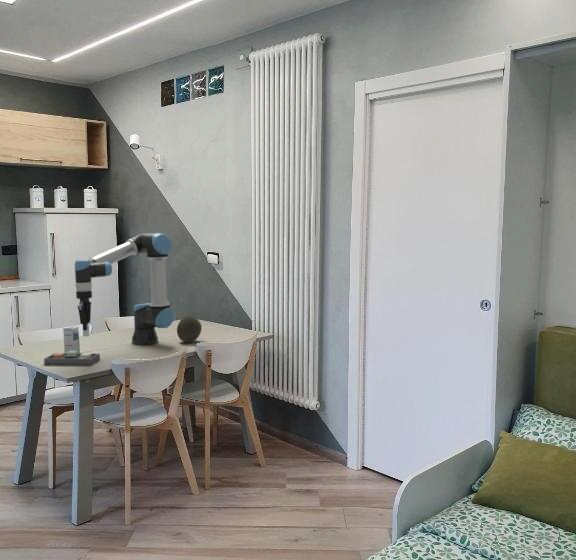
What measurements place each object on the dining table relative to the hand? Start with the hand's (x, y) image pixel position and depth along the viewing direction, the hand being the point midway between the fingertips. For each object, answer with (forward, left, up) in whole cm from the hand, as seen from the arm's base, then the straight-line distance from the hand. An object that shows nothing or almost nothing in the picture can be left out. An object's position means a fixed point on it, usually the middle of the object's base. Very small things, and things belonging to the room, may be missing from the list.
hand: (86, 336), depth 302 cm
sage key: (+7, +2, -10) cm, 12 cm away
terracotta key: (+14, +2, -11) cm, 18 cm away
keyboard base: (+7, +2, -13) cm, 15 cm away
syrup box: (+15, -17, -14) cm, 27 cm away
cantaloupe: (-43, -48, -14) cm, 66 cm away
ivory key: (0, +2, -11) cm, 11 cm away
